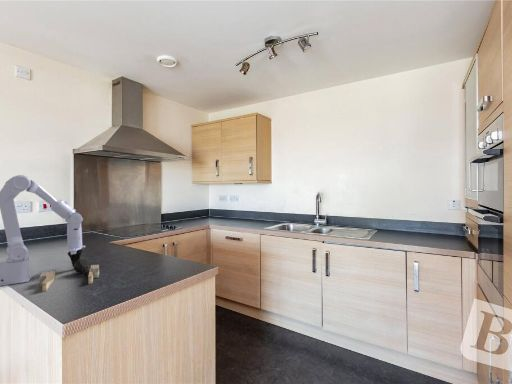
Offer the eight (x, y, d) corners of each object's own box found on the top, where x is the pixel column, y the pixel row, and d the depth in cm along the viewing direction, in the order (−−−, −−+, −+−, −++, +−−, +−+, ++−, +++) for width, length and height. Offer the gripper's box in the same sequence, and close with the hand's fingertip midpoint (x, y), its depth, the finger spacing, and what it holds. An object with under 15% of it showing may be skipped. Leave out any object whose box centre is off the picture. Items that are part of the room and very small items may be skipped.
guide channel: (35, 292, 100) (35, 282, 99) (46, 278, 115) (45, 269, 115) (97, 282, 109) (97, 272, 109) (99, 270, 125) (99, 261, 125)
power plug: (81, 277, 113) (73, 257, 119) (78, 289, 116) (71, 269, 122) (96, 273, 117) (88, 254, 124) (93, 285, 120) (85, 266, 127)
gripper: (83, 239, 122) (84, 268, 123) (86, 234, 135) (87, 261, 136) (64, 241, 119) (65, 271, 119) (69, 235, 132) (70, 263, 132)
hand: (75, 266), depth 127 cm, fingers closed
